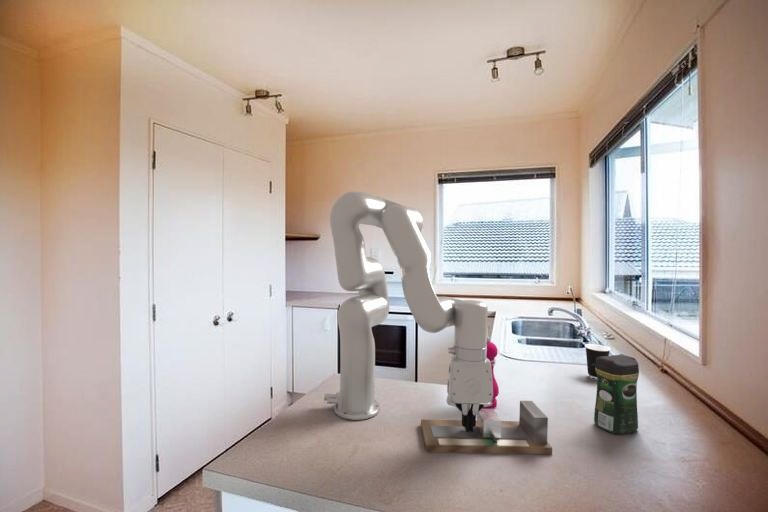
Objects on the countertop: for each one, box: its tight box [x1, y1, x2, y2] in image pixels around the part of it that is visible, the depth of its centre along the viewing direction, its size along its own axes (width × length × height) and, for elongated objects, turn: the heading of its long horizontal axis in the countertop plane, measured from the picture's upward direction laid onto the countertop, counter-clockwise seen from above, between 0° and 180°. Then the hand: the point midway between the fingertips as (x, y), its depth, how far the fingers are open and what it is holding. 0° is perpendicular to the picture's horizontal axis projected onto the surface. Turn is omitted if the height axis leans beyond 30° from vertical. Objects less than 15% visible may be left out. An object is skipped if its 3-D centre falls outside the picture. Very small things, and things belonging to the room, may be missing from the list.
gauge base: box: [420, 400, 553, 455], centre depth 87 cm, size 28×12×8 cm, turn 90°
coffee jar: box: [593, 353, 640, 435], centre depth 93 cm, size 10×8×19 cm
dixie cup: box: [584, 343, 611, 379], centre depth 129 cm, size 8×8×11 cm
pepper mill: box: [482, 335, 500, 409], centre depth 106 cm, size 7×7×20 cm
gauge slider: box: [476, 408, 502, 443], centre depth 85 cm, size 4×9×4 cm, turn 0°
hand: (468, 429), depth 87 cm, fingers closed
